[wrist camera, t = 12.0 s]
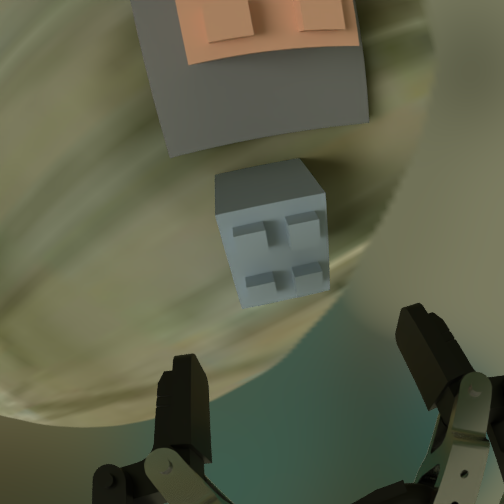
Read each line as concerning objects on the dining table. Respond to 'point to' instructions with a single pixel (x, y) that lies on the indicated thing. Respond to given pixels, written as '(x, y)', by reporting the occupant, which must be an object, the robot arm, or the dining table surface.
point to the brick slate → (273, 231)
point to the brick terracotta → (263, 26)
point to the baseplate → (245, 86)
